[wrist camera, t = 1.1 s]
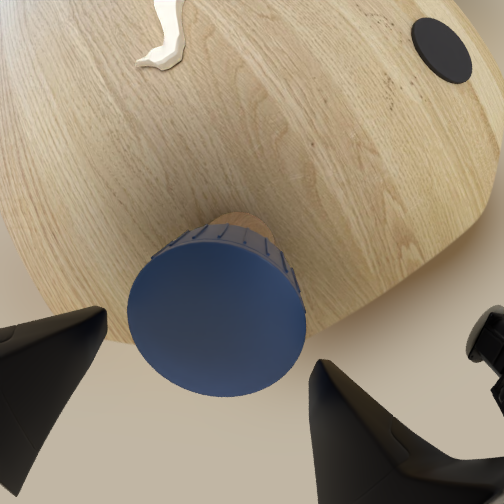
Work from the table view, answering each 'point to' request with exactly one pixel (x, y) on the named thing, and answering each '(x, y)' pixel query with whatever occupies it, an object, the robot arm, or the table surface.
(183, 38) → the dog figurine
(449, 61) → the coaster
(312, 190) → the table surface
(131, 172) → the table surface
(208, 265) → the lid
